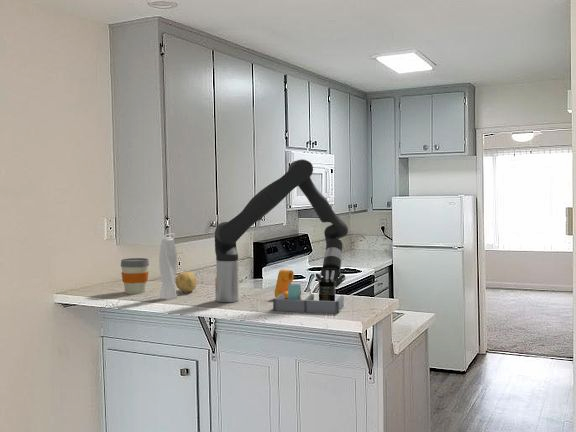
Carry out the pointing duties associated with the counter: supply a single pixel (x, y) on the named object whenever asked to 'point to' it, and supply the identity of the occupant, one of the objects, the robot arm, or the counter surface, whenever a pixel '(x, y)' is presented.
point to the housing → (305, 302)
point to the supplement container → (326, 290)
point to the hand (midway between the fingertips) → (328, 294)
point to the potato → (186, 281)
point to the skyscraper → (168, 267)
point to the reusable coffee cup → (134, 275)
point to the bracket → (283, 282)
